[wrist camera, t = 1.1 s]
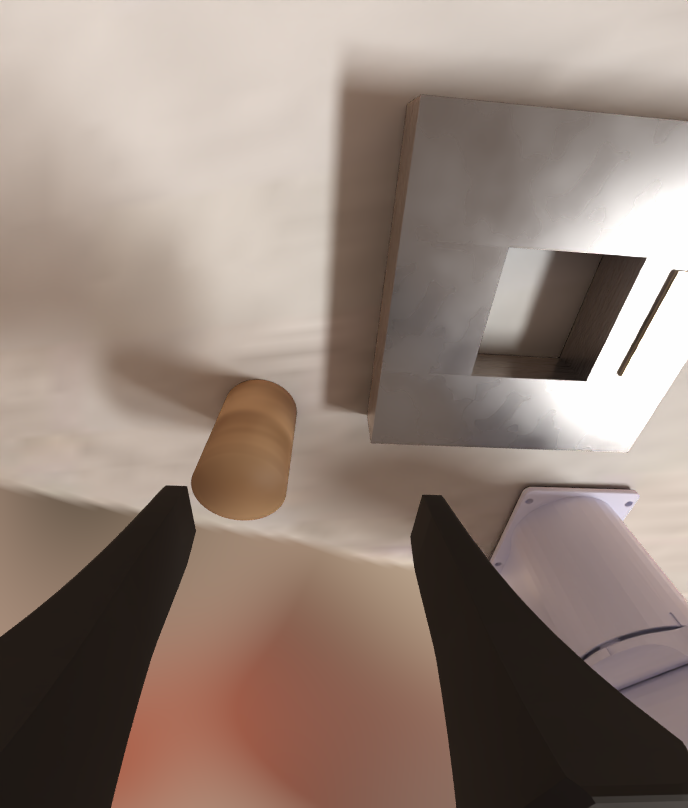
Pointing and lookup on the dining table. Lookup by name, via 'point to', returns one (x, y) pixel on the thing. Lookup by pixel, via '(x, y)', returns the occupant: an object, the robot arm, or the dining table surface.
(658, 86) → the dining table surface
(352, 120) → the dining table surface
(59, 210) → the dining table surface
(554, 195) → the plate
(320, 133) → the dining table surface
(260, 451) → the peg
